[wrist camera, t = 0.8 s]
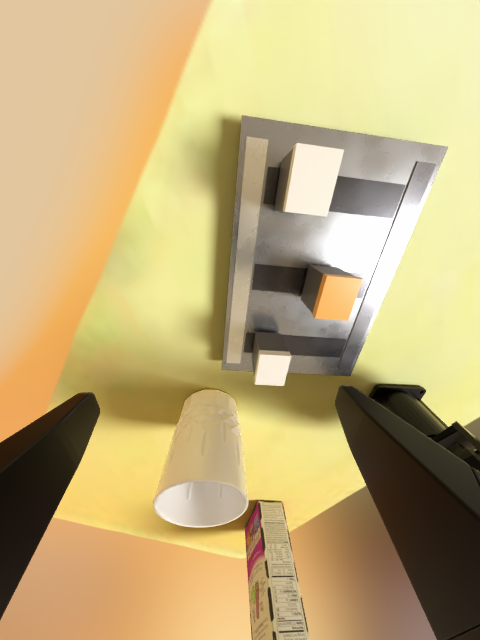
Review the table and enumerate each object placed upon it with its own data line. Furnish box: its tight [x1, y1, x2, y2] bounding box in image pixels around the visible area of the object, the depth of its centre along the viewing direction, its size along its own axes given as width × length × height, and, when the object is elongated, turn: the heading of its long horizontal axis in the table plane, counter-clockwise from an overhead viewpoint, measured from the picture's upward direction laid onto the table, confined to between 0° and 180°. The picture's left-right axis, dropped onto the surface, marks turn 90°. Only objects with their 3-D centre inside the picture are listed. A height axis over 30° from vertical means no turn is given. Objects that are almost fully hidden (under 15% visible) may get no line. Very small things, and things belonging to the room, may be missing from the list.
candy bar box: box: [245, 501, 310, 640], centre depth 33 cm, size 11×5×16 cm, turn 168°
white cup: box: [153, 389, 249, 528], centre depth 22 cm, size 8×8×10 cm
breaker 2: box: [274, 143, 344, 217], centre depth 13 cm, size 2×3×4 cm
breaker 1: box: [251, 332, 291, 386], centre depth 19 cm, size 2×3×4 cm
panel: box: [222, 115, 448, 376], centre depth 19 cm, size 14×20×2 cm
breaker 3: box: [301, 265, 363, 321], centre depth 16 cm, size 2×3×4 cm
